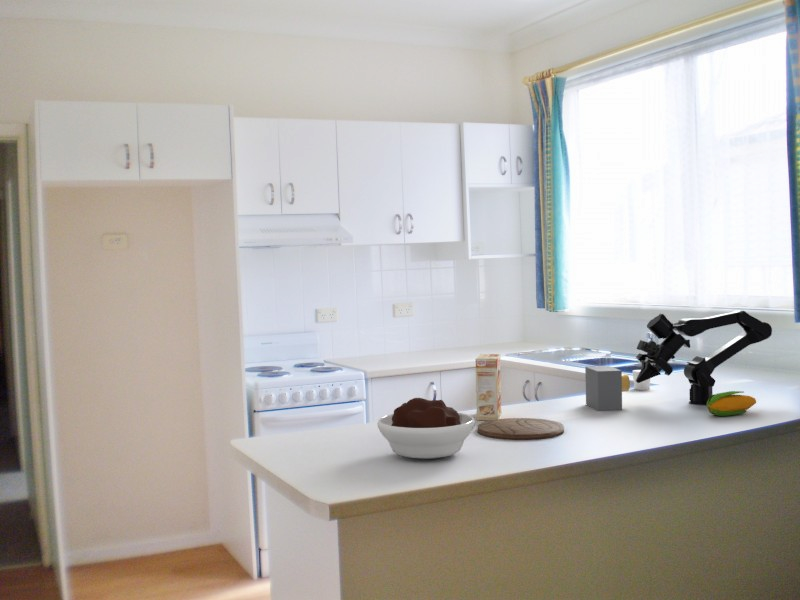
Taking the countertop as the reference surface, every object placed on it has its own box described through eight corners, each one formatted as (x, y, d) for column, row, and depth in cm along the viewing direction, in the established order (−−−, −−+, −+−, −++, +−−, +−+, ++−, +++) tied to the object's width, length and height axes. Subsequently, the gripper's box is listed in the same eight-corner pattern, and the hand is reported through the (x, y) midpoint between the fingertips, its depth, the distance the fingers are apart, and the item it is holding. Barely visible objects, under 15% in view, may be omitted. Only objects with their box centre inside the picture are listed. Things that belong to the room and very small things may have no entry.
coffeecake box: (498, 420, 258) (497, 358, 257) (475, 420, 260) (474, 358, 259) (502, 412, 273) (501, 353, 272) (480, 412, 274) (479, 353, 273)
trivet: (496, 444, 226) (496, 437, 226) (465, 427, 250) (465, 421, 250) (579, 437, 233) (579, 430, 233) (541, 421, 257) (541, 415, 257)
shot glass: (629, 388, 318) (628, 370, 318) (644, 386, 320) (644, 368, 320) (639, 390, 311) (639, 372, 311) (655, 389, 313) (654, 370, 313)
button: (623, 390, 281) (623, 372, 281) (629, 392, 275) (629, 374, 275) (606, 390, 280) (605, 373, 280) (612, 393, 274) (612, 375, 274)
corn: (700, 391, 258) (745, 385, 267) (699, 415, 258) (744, 408, 267) (718, 396, 251) (764, 390, 260) (717, 420, 252) (763, 413, 261)
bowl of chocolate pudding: (443, 441, 230) (441, 387, 229) (494, 458, 208) (493, 399, 207) (362, 453, 218) (360, 396, 218) (407, 472, 196) (406, 409, 196)
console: (608, 403, 284) (608, 365, 284) (622, 409, 271) (621, 370, 271) (586, 404, 284) (585, 366, 283) (598, 410, 271) (597, 371, 270)
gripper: (641, 329, 287) (610, 362, 287) (663, 334, 268) (630, 369, 268) (663, 351, 288) (633, 384, 288) (686, 357, 269) (654, 392, 269)
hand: (636, 382), depth 278 cm, fingers closed
